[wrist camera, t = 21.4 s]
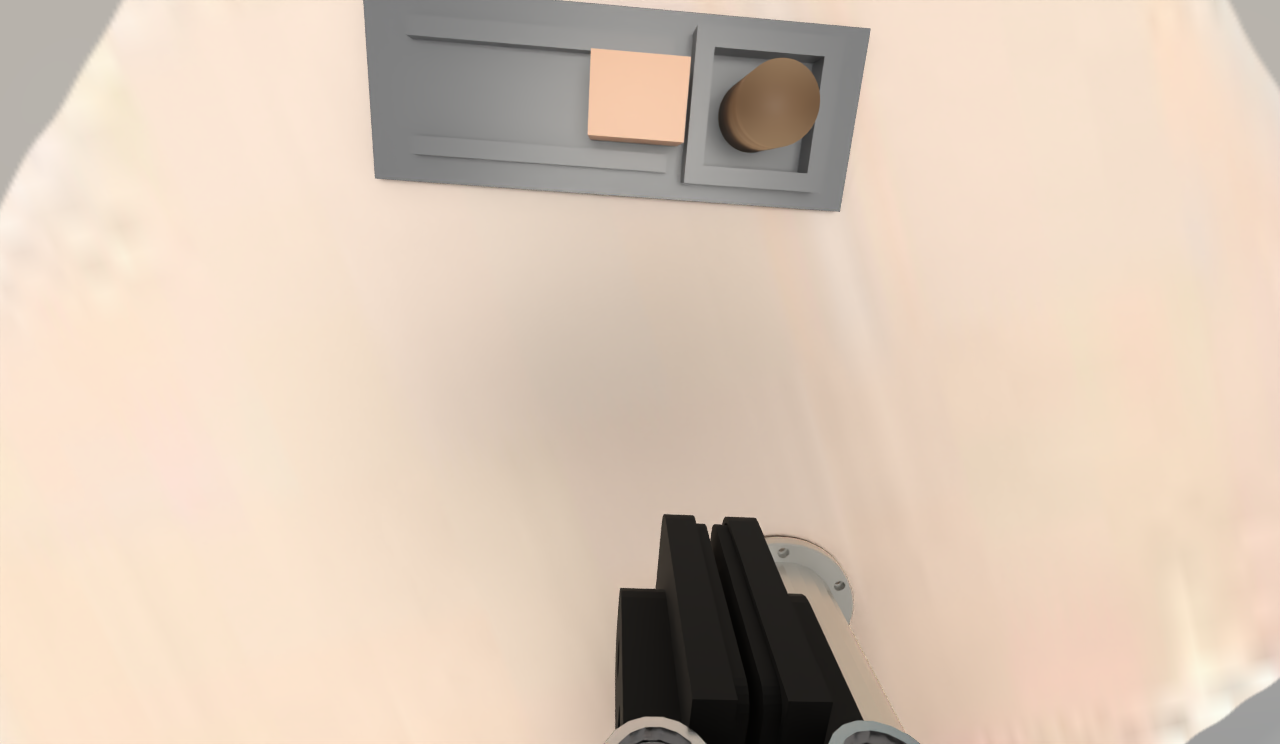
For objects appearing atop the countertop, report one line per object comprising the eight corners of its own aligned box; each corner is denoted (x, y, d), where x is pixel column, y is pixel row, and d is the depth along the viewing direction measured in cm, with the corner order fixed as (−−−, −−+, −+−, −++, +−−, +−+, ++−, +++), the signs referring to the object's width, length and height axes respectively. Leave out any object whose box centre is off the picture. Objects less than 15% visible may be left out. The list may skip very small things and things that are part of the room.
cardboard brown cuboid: (676, 146, 34) (683, 142, 31) (590, 139, 34) (587, 134, 30) (682, 70, 33) (691, 56, 29) (593, 63, 33) (590, 47, 29)
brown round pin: (780, 155, 35) (812, 150, 29) (714, 149, 35) (733, 143, 29) (791, 81, 34) (826, 61, 28) (722, 75, 34) (744, 53, 28)
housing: (834, 210, 37) (852, 213, 34) (381, 178, 36) (361, 178, 33) (863, 32, 34) (885, 19, 31) (369, -12, 32) (345, -31, 30)
